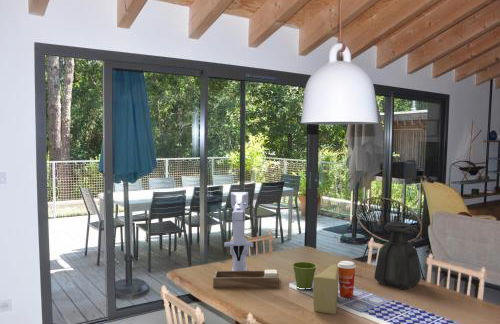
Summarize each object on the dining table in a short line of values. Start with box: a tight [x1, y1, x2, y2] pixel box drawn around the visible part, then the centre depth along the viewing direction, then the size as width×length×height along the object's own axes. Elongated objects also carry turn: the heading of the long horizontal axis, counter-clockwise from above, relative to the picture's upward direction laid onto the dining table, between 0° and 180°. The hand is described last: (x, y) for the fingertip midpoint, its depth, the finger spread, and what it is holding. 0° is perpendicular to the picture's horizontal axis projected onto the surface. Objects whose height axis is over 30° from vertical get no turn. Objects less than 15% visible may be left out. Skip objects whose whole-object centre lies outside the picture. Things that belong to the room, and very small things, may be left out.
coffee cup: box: [337, 260, 357, 298], centre depth 195 cm, size 8×8×15 cm
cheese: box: [312, 263, 339, 315], centre depth 184 cm, size 22×10×15 cm, turn 156°
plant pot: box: [292, 261, 318, 289], centre depth 205 cm, size 12×12×11 cm
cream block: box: [263, 269, 278, 278], centre depth 212 cm, size 6×6×4 cm
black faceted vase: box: [373, 221, 422, 291], centre depth 210 cm, size 18×16×30 cm
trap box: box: [212, 270, 280, 288], centre depth 212 cm, size 12×32×4 cm, turn 90°
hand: (238, 260), depth 215 cm, fingers closed
